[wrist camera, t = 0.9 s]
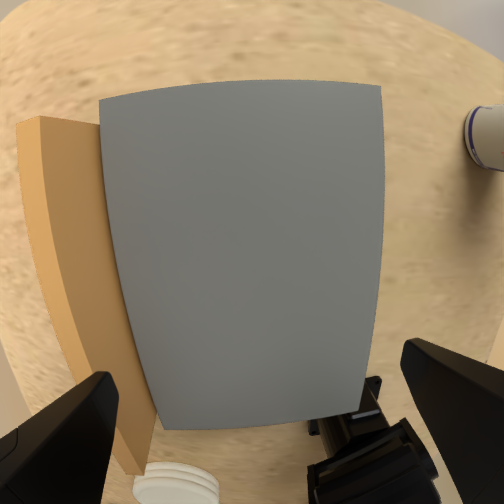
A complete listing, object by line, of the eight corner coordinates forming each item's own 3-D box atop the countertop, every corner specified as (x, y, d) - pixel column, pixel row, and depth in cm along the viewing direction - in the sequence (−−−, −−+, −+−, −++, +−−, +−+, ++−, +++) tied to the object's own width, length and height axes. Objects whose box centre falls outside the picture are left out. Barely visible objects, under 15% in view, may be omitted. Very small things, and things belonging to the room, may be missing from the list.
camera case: (328, 350, 24) (358, 410, 17) (175, 363, 23) (163, 429, 16) (331, 105, 18) (380, 86, 11) (140, 116, 17) (97, 100, 11)
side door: (169, 355, 22) (144, 476, 12) (157, 355, 22) (126, 474, 12) (136, 132, 17) (39, 115, 7) (121, 134, 17) (16, 123, 7)
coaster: (236, 486, 30) (237, 508, 26) (176, 502, 31) (175, 522, 28) (178, 450, 27) (175, 476, 24) (119, 469, 28) (114, 491, 25)
